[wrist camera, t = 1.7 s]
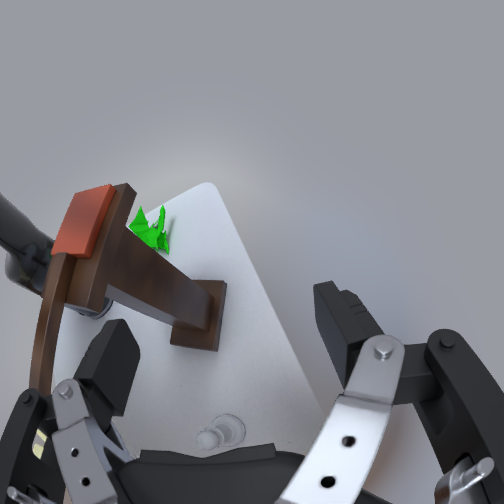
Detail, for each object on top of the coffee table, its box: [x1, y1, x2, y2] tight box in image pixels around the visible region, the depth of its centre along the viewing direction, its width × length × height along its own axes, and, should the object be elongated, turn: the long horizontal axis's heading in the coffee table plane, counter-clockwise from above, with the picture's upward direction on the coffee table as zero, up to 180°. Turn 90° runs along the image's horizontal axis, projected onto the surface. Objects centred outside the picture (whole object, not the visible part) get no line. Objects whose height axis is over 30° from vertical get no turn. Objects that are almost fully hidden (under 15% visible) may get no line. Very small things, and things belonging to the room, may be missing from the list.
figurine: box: [128, 205, 169, 254], centre depth 45 cm, size 6×12×9 cm
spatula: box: [29, 184, 116, 396], centre depth 16 cm, size 18×5×1 cm, turn 174°
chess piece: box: [196, 415, 245, 450], centre depth 27 cm, size 5×5×8 cm
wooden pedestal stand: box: [41, 183, 227, 352], centre depth 28 cm, size 10×7×24 cm
